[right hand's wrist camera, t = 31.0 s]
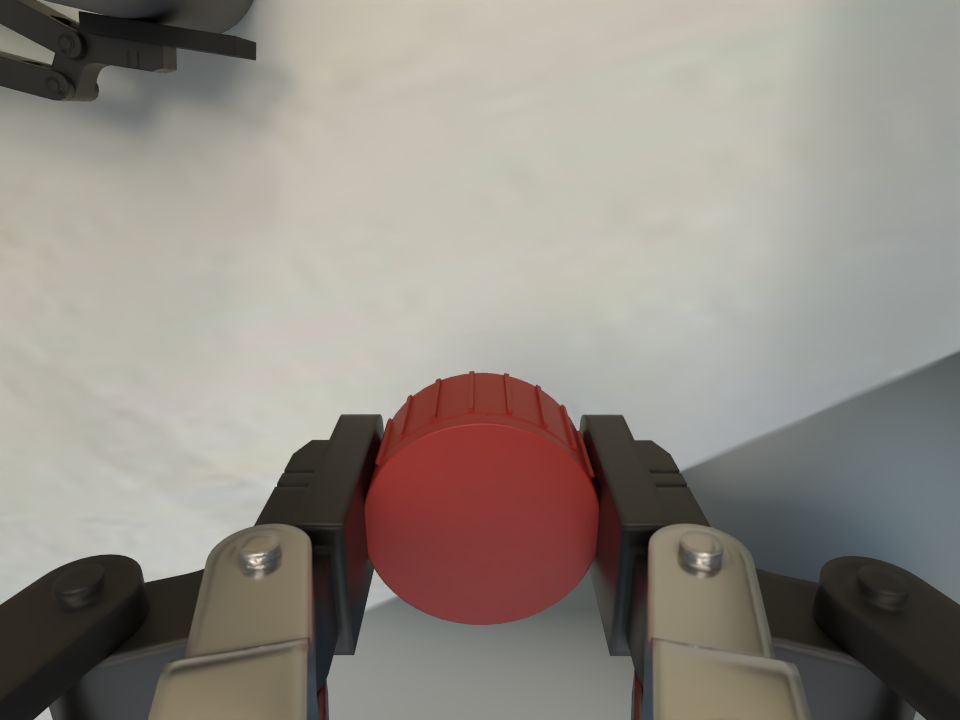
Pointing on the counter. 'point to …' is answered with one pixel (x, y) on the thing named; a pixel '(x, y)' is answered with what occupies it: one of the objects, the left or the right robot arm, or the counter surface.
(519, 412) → the cap
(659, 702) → the right robot arm
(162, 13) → the bottle
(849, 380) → the counter surface
